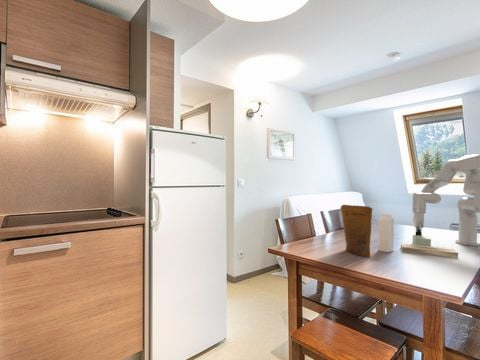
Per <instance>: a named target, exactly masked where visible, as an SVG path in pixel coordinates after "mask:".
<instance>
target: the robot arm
mask: <svg viewBox="0 0 480 360" xmlns="http://www.w3.org/2000/svg"><path fill="white" fill-rule="evenodd" d="M461 172H464V173H465V179H464V183H463V189H462V190H463V191H462V192H463V193H464V194H465V195H467V197H466V196H463V197H461V198H460V199H459V200H458V202H457V208H458V218H459V219H458V239H456V240H455V243H456V244H459V245H464V246H469V247H470V246H472V247H479V245H480V243H479V242H478V219H479V218H478V215H477V214H480V153H479V154H469V155H464V156H461V157H459V158H455V159H449V160H447V161H446V162H445V163H444V164H443V166H442V167H441V169H440V170H439V172H438V173H437V175H436V176H435V177H434V178H433V179H432V180H430V181H429V182H428V183H426V184H425V186H424V187H423V188H422V190H421V191H420V192H413V194H412V213H413V219H412V226H413V227H414V228H415V235H419V236H423V235H422V234H423V233H422V230H423V228H424V226H425V214H427V213H426V212H427V204H430V205H431V204H432V205H436V204H439V203H440V202H441V201H442V197H441V195H440V194H438V193H436V191H437V190H438V189H440V188H442V187H446V186H448V185H449V184H451V182H452V181H453V179H454V178H455V176H456V174H457V173H461ZM470 196H473V197H470Z"/></svg>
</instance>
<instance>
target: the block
mask: <svg viewBox="0 0 480 360" xmlns="http://www.w3.org/2000/svg"><path fill="white" fill-rule="evenodd" d="M412 245H422V246H431V245H432V239H431V238H430V237H428V236H427V235H422V236H419V235H416V234H412Z"/></svg>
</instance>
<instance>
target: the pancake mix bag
mask: <svg viewBox="0 0 480 360" xmlns="http://www.w3.org/2000/svg"><path fill="white" fill-rule="evenodd" d="M340 213H341V219H342V225H343V232H344V239H345V245H346V246H345V251H346V252H347V253H349V254H354V255H357V256H360V257H363V258H372V257H371V248H370V247H371V246H370V244H371V234H372V233H371V232H372V217H373V208H372V207H370V206H366V205H365V206H364V205H352V204H351V205H350V204H342V205H341V206H340Z"/></svg>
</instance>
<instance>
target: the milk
mask: <svg viewBox="0 0 480 360" xmlns="http://www.w3.org/2000/svg"><path fill="white" fill-rule="evenodd" d="M380 215H381V216H380V217H379V218H378V251H381V252H386V253H391V252H393V251H394V232H395V231H394V229H395V228H394V226H395V222H394V218H393V217H392V216H393V215H392V214H390V213H389V214H387V213H381V214H380Z"/></svg>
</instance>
